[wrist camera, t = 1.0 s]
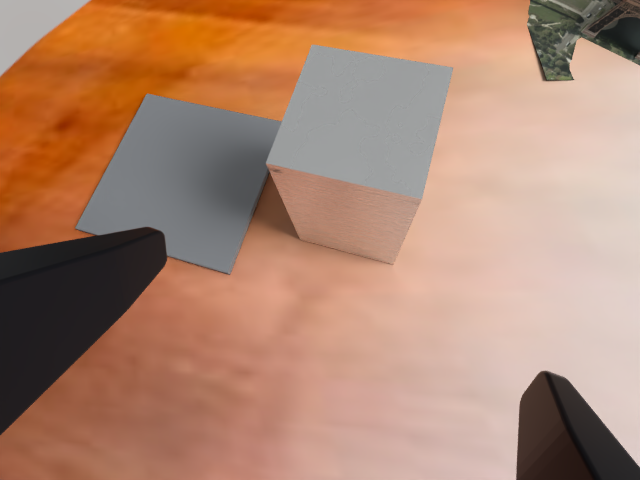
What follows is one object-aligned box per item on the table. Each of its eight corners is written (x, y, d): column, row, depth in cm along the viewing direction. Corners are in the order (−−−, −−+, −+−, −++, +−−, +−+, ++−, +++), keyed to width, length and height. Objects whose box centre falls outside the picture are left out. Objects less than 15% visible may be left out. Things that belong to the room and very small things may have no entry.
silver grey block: (393, 264, 23) (421, 198, 13) (300, 239, 24) (265, 162, 15) (414, 178, 25) (453, 67, 15) (327, 159, 26) (311, 44, 16)
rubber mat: (229, 274, 24) (227, 273, 23) (80, 230, 26) (75, 228, 25) (286, 126, 27) (285, 122, 26) (150, 97, 29) (146, 93, 29)
